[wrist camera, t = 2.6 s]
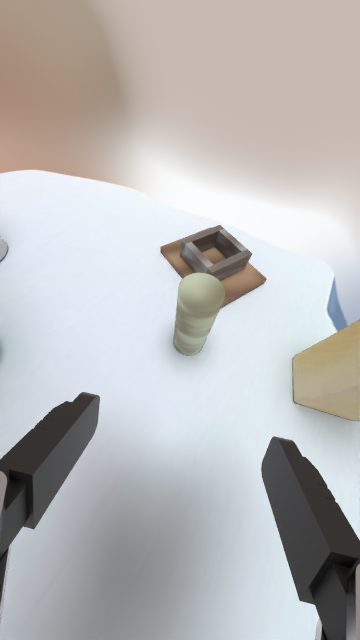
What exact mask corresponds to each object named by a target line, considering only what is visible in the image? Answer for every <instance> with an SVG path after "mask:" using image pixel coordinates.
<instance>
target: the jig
mask: <svg viewBox="0 0 360 640" xmlns="http://www.w3.org/2000/svg"><path fill="white" fill-rule="evenodd" d="M161 253H162V254H163V255H164V257H165V258H166V259H167V260H168V261H169V263H170V264H171V265H172V266H173V267H174V269H175V270H176V271H177V272H178V273H179V274H180V276H181V277H182V278H184V277H186V276H188V275H190V274H193V273H206V274H209V275H212V276H214V277H216V278H217V279H218V280H219V281H220V282H221V283H222V284H223V286H224V289H225V298H224V301H223V303H222V305H221V307H220V308H222V307H223V306H225V305H227V304H229V303H230V302H232V301H234V300H236V299H237V298H239V297H241V296H243V295H244V294H246V293H248V292H250V291H251V290H253V289H255V288H257V287H258V286H260V285H262V284H264V282H265V281H266V278H265V277H264V276H263V275H262V274H261V273H260V272H258V271H257V270H256V269H255V268H254V267H253V266H252V265H251V264H250V263H249V262H248V261H249V259H250V257H251V255H252V253H251V252H250V251H249V250H248V249H246V248H245V247H244V246H243V245H242V244H241V243H240V242H239V241H237V240H236V239H235V238H234V237H233V236H232V235H231V234H230V233H228V232H227V231H226V230H225V229H224V228H223V227H222V226H221V225H218V226H216V227H213V228H208V229H206V230H203V231H200V232H198V233H195V234H193V235H190V236H188V237H185V238H182V239H180V240H177V241H175V242H172V243H170V244H167V245H164V246H162V247H161Z"/></svg>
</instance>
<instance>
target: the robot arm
mask: <svg viewBox="0 0 360 640" xmlns="http://www.w3.org/2000/svg"><path fill="white" fill-rule="evenodd" d="M6 252H7V244H6V242H5V241H4V240H3V239H2V238H1V237H0V260H2V259H3V257H4V256H5V255H6ZM99 403H100V397H99V395H94V394H90V393H86V392H82V393H80V394H79V395H78V397H77V398H76V399H75V400H74V401H73V402H68V401H66V402H64V403H62V404H60V405H59V406H57V407H55V408H53V409H52V410H51V411H50V412H49V413H48V414H47V415H46V416H45V417H44V418H43V420H41V421H40V422H39V423H38V424H37V425H36V426H35V427H34V429H32V430H30V431H29V432H28V433H27V434H26V435H25V436H24V437H23V438H22V439H21V440H20V441H19V442H18V443H17V444H16V445H15V446H14V447H13V448H12V449H11V450H10V451H9V452H8V453H7V454H6V455H4V456H3V457H2V458H1V459H0V624H1V617H2V610H3V603H4V595H5V588H6V581H7V574H8V566H9V559H10V552H11V543H12V541H13V540H14V538H15V537H16V535H17V534H18V533H19V531H20V530H21V528H22V527H23V526H24V527H28V528H32V529H34V528H35V527H36V525H37V524H38V522H39V521H40V519H41V517H42V516H43V514H44V513H45V511H46V509H47V508H48V506H49V505H50V503H51V502H52V500H53V498H54V497H55V495H56V494H57V492H58V490H59V489H60V487H61V486H62V484H63V483H64V481H65V479H66V478H67V476H68V475H69V473H70V472H71V470H72V468H73V467H74V465H75V464H76V462H77V460H78V459H79V457H80V456H81V454H82V453H83V451H84V449H85V448H86V446H87V445H88V443H89V441H90V440H91V438H92V437H93V435H94V433H95V430H96V427H97V423H98V414H99ZM261 471H262V478H263V482H264V485H265V488H266V492H267V495H268V498H269V502H270V505H271V508H272V511H273V515H274V518H275V521H276V524H277V528H278V531H279V534H280V538H281V541H282V544H283V547H284V551H285V554H286V557H287V561H288V564H289V567H290V570H291V574H292V577H293V580H294V584H295V587H296V590H297V593H298V597H299V600H300V601H303V602H307V603H310V604H314V605H315V606H316V609H317V612H318V615H319V617H320V618H319V620H318V622H317V626H316V635H315V640H360V540H359V539H358V537H357V535H356V534H355V532H354V530H353V529H352V527H351V525H350V524H349V522H348V520H347V519H346V517H345V515H344V513H343V512H342V510H341V508H340V507H339V505H338V503H336V502H335V498H334V497H333V495H332V493H331V491H330V490H329V489H328V488H327V485H326V483H325V481H324V480H323V478H322V476H321V475H320V473H319V471H318V470H317V469H316V468H315V467H314V466H313V465H312V463H311V462H310V461H309V460H308V459H307V458H306V457H302V455H301V453H300V451H299V449H298V448H297V446H296V444H295V443H294V442H293V441H292V440H288V439H283V438H279V437H273V438H272V439H271V441H270V444H269V446H268V449H267V451H266V454H265V456H264V459H263V461H262V467H261Z"/></svg>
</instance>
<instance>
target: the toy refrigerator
mask: <svg viewBox="0 0 360 640" xmlns="http://www.w3.org/2000/svg"><path fill="white" fill-rule="evenodd" d="M293 391H294V402H295V403H297V404H300V405H303V406H307V407H310V408H313V409H316V410H320V411H323V412H326V413H330V414H333V415H336V416H339V417H342V418H346V419H349V420H354V421H360V320H358V321H356V322H355V323H353V324H351V325H349V326H347V327H346V328H344V329H342V330H340V331H339V332H337V333H335V334H333V335H331V336H330V337H328V338H326V339H324V340H322V341H321V342H319V343H317V344H315V345H313V346H312V347H310V348H308V349H306V350H304V351H302V352H301V353H299V354H297V355H295V356H294V358H293Z"/></svg>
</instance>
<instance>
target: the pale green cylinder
mask: <svg viewBox="0 0 360 640" xmlns="http://www.w3.org/2000/svg"><path fill="white" fill-rule="evenodd" d="M224 298H225V289H224V286H223V284H222V283H221V282H220V281H219V280H218V279H217V278H216V277H214V276H212V275H209V274H206V273H193V274H190V275H188V276H186V277H184V278H183V279H182V281H181V282H180V284H179V288H178V298H177V309H176V320H175V330H174V346H175V348H176V349H177V350H178V351H179V352H180V353H181V354H184V355H195V354H197V353H198V352H199V351H200V350H201V349H202V347H203V345H204V343H205V340H206V338H207V336H208V334H209V332H210V329H211V327H212V325H213V323H214V321H215V318H216V316H217V314H218V312H219V310H220V307H221V305H222V303H223V301H224Z"/></svg>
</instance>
